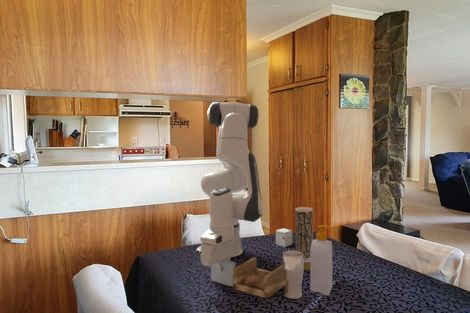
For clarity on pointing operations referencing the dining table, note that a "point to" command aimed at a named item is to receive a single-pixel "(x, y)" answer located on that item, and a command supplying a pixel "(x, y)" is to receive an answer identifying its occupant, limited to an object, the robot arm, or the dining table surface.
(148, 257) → the dining table surface
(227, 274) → the grey block
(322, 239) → the soap bottle
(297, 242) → the brown bark cylinder
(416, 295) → the dining table surface
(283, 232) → the skincare box
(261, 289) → the offcut
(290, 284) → the beer glass
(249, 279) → the offcut
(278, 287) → the tray
